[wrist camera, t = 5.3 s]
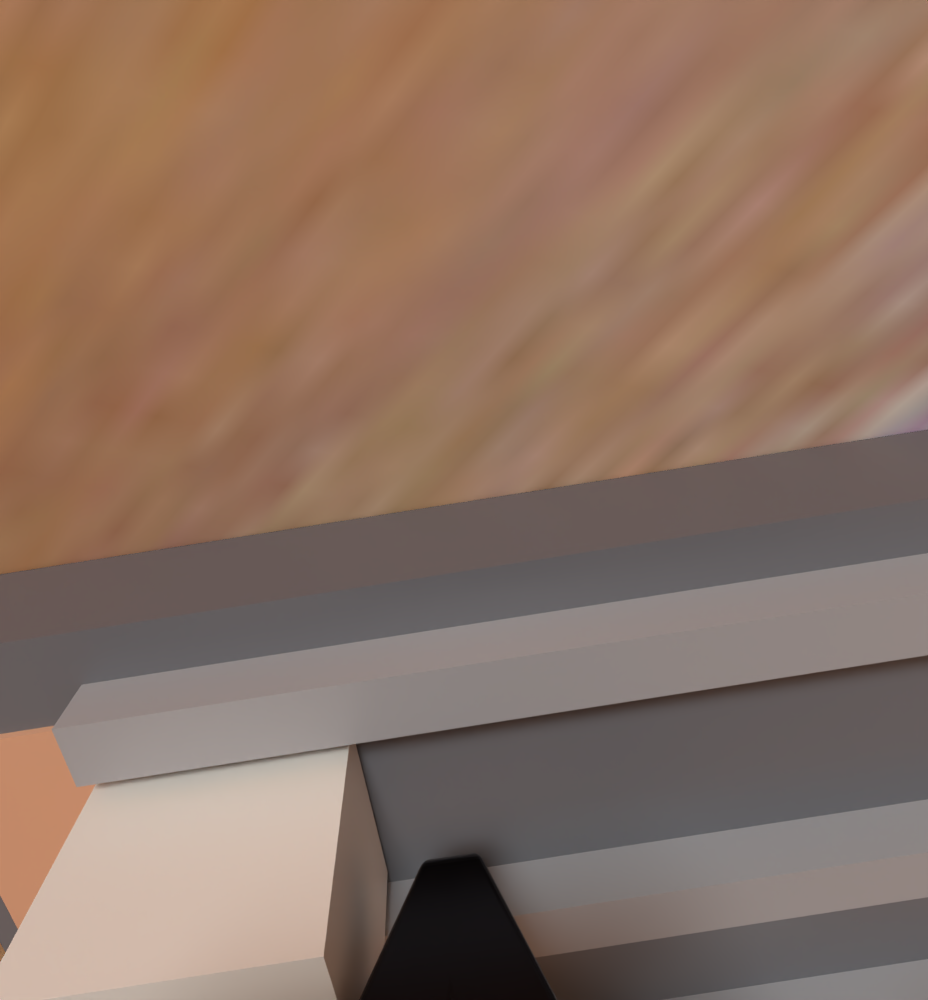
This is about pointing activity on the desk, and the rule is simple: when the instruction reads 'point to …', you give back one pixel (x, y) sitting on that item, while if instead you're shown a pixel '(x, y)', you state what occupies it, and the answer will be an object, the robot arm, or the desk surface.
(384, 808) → the switch panel
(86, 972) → the tab
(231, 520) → the desk surface
